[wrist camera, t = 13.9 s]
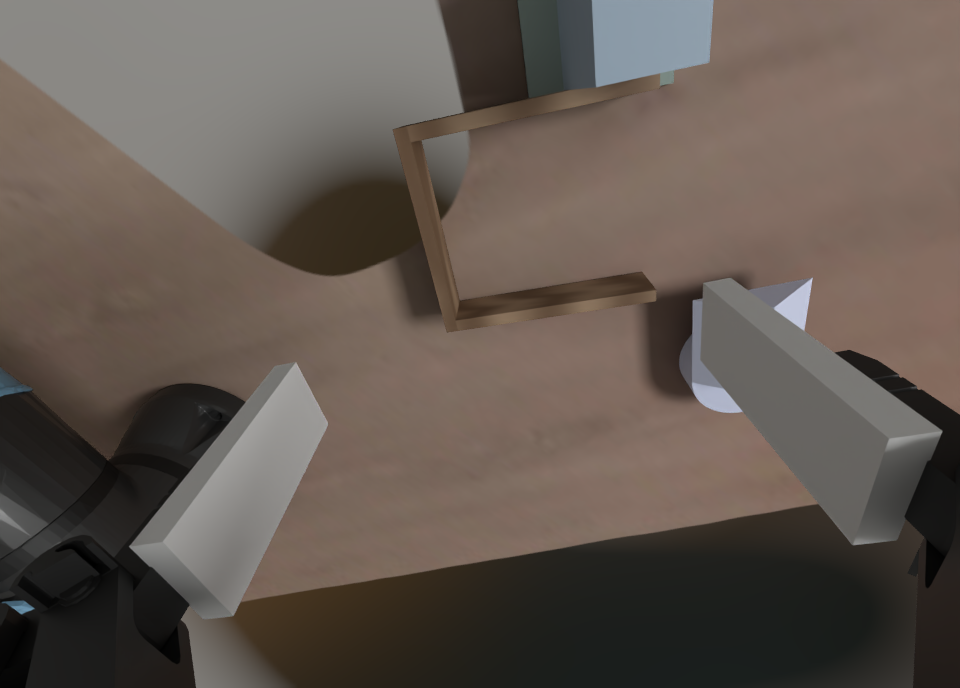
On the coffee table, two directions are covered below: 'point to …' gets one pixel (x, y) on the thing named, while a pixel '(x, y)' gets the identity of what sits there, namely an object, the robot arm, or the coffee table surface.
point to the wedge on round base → (705, 387)
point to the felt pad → (547, 48)
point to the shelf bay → (427, 215)
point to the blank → (630, 39)
